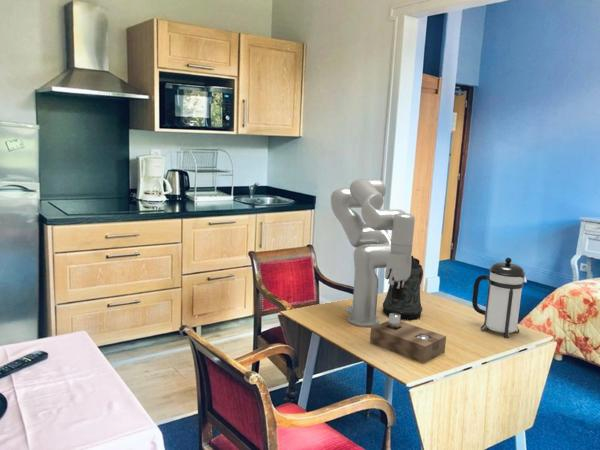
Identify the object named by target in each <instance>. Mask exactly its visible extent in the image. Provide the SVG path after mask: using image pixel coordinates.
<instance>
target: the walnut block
mask: <svg viewBox="0 0 600 450" xmlns="http://www.w3.org/2000/svg"><path fill="white" fill-rule="evenodd" d="M388 324H389V320H386V321H384V322H382V323H379V324H378V325H376V326H371V327H370V338H369V343H370V345H373V346H377V347H379V348H382V349H385V350H387V351H390V352H392V353H395V354H397V355H400V356H403V357H405V358H408V359H411V360H413V361H416V362H419V363H421V364H423V365H424V364H426V363H427V362H429V361H431V360H433V359H435V358H436V357H439V356H441V355H442V354H444V353H445V352H446V342H447V341H446V340H447V335H443V334H441V333H439V332H436V331H435V332H434V331H431V330H429V329H426V328H423V327H421V326H417V325H413V324H411V323H407V322H404V321H403V320H400V327H399V329H397V330H394V329H391V328H388ZM417 335H427V336H428V337H429V339H428V340H423V339H420V338H417Z"/></svg>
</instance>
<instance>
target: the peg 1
mask: <svg viewBox="0 0 600 450" xmlns="http://www.w3.org/2000/svg"><path fill="white" fill-rule="evenodd" d="M400 316H401V315H400V314H397V313H390V314H389V317H388V321H389V324H388V328H391V329H394V330H397V329H399V327H400V321H401V320H400Z"/></svg>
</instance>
